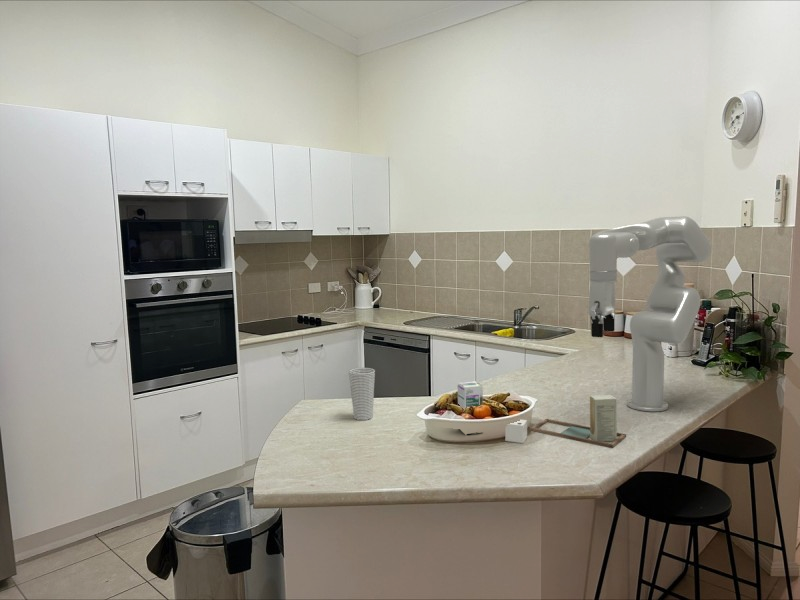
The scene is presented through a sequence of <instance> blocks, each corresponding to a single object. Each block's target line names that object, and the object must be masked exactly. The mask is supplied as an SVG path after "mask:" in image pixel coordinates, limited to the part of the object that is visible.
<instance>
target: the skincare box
mask: <svg viewBox="0 0 800 600" xmlns="http://www.w3.org/2000/svg"><path fill="white" fill-rule="evenodd" d="M617 421H618V420H617V398H616V397H615V396H613V395H612V394H598V395H597V394H596V395H595V394H593V395H589V425H590V426H589V427H590V438H591V440H595V441H600V442H614V441H615V440H616V439H617V438H618V436H617V433H618V432H617V431H618V430H617V426H618V425H617Z"/></svg>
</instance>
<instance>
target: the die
mask: <svg viewBox="0 0 800 600" xmlns="http://www.w3.org/2000/svg"><path fill="white" fill-rule="evenodd" d="M504 430H505V439H504V441H505V442H510V443H517V444H518V443H519V444H524V442H526V440H527V438H528V420H527V419H520V421H517V422H514V423H510V424H507V426H506V427H504Z"/></svg>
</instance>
